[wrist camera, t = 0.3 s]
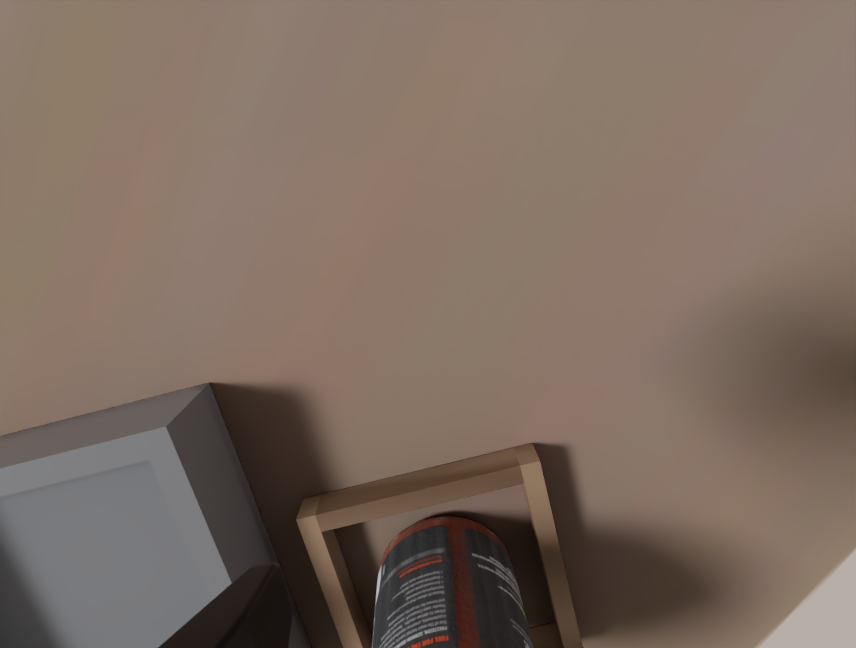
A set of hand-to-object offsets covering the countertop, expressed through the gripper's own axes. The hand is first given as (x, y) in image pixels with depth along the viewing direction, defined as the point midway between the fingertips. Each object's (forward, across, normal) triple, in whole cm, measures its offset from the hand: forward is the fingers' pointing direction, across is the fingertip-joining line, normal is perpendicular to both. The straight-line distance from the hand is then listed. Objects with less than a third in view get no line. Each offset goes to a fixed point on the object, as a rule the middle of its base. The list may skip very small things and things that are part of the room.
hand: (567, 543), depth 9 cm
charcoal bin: (+14, +17, +8) cm, 24 cm away
